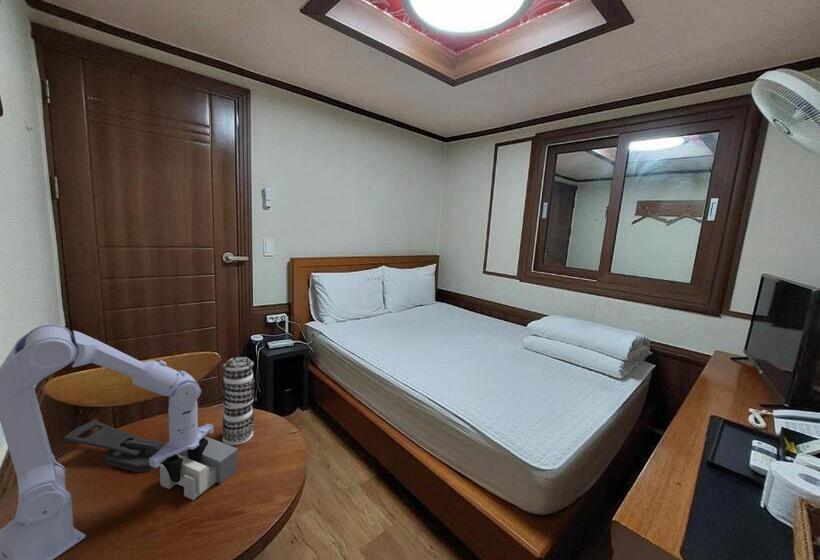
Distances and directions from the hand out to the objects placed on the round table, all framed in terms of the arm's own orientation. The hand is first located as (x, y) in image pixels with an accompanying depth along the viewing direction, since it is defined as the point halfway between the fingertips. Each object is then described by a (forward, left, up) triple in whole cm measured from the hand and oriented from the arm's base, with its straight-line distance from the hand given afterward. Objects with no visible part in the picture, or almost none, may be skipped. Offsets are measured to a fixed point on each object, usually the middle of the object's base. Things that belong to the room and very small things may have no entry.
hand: (184, 474), depth 81 cm
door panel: (0, 0, -2) cm, 2 cm away
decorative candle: (+20, +4, -4) cm, 21 cm away
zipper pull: (+1, +25, -4) cm, 25 cm away
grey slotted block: (+4, 0, -3) cm, 5 cm away
